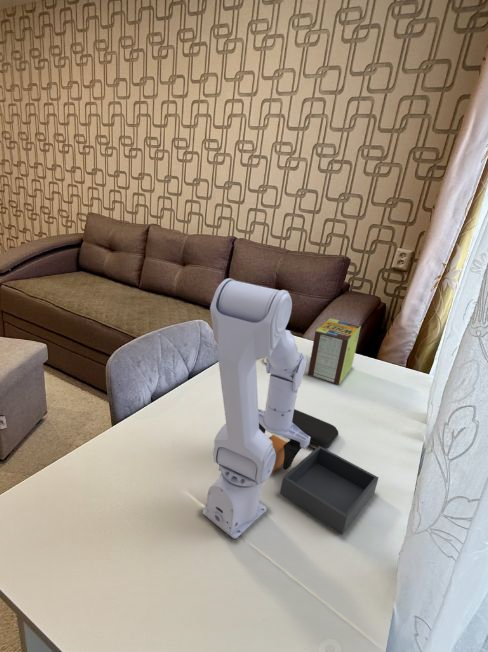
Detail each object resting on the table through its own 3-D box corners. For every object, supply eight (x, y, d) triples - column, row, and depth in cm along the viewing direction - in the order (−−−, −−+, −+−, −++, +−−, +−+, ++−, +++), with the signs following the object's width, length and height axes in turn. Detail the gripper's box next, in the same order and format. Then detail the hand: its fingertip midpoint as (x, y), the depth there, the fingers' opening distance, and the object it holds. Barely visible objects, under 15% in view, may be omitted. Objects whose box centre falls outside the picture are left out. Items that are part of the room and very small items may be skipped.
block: (272, 474, 83) (275, 453, 81) (256, 464, 85) (259, 444, 83) (285, 463, 86) (288, 442, 84) (270, 454, 89) (273, 434, 87)
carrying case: (266, 431, 96) (322, 458, 89) (267, 421, 95) (325, 447, 88) (286, 413, 105) (339, 436, 97) (287, 403, 103) (342, 426, 96)
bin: (341, 536, 69) (346, 517, 68) (279, 495, 77) (282, 477, 76) (373, 494, 79) (378, 477, 78) (315, 462, 87) (319, 445, 86)
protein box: (351, 367, 133) (361, 325, 128) (339, 385, 121) (349, 339, 115) (321, 359, 138) (329, 317, 132) (306, 375, 126) (314, 330, 120)
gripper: (322, 412, 78) (310, 466, 83) (263, 384, 87) (256, 435, 92) (303, 426, 73) (292, 483, 78) (243, 395, 82) (237, 448, 87)
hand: (271, 458), depth 85 cm, fingers open, 7 cm apart
